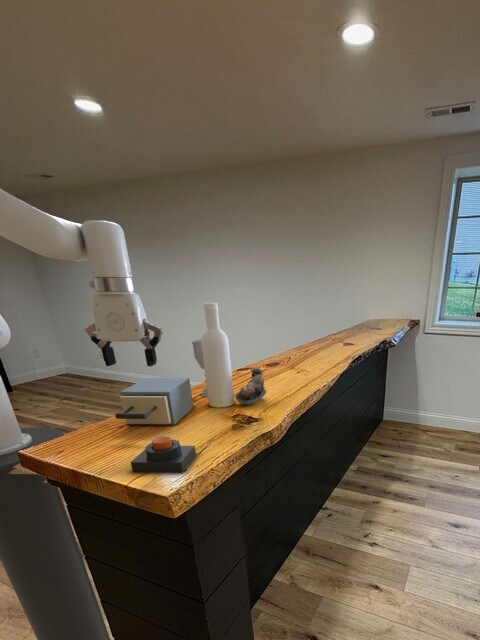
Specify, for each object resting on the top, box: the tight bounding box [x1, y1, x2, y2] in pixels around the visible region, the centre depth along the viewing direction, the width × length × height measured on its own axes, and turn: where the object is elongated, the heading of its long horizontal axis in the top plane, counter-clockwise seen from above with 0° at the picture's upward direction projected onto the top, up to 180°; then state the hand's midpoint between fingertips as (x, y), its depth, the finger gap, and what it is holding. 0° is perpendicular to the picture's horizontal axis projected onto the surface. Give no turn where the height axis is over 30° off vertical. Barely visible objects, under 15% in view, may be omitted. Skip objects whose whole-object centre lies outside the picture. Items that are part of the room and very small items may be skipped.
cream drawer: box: [114, 395, 171, 425], centre depth 93 cm, size 21×11×7 cm, turn 0°
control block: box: [130, 439, 197, 473], centre depth 72 cm, size 10×8×4 cm
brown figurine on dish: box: [234, 367, 267, 406], centre depth 110 cm, size 12×7×10 cm, turn 160°
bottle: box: [201, 302, 235, 408], centre depth 104 cm, size 8×8×30 cm
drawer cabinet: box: [120, 377, 194, 426], centre depth 98 cm, size 15×13×9 cm
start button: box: [151, 435, 172, 450], centre depth 71 cm, size 4×4×2 cm
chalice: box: [190, 339, 208, 398], centre depth 116 cm, size 7×7×18 cm
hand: (131, 365), depth 82 cm, fingers open, 9 cm apart
